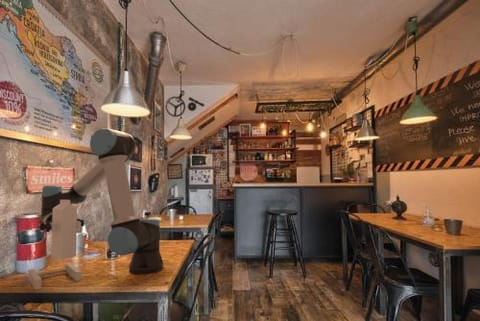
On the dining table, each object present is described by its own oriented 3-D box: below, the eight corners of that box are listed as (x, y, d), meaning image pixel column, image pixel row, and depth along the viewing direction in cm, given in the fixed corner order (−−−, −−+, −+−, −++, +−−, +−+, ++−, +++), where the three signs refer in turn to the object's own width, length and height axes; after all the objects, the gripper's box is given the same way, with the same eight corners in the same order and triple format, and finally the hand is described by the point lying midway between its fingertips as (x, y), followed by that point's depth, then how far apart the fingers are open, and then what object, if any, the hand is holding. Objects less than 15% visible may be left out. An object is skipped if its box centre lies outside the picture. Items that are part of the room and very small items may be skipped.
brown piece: (28, 277, 127) (28, 269, 127) (69, 269, 138) (70, 262, 138) (35, 289, 112) (35, 280, 112) (81, 280, 123) (81, 271, 123)
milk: (61, 260, 109) (62, 200, 111) (50, 258, 112) (52, 200, 113) (76, 256, 115) (77, 199, 116) (66, 254, 117) (67, 199, 119)
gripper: (81, 227, 134) (96, 233, 117) (25, 233, 120) (33, 241, 103) (81, 210, 134) (96, 214, 117) (26, 215, 121) (34, 219, 104)
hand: (67, 226), depth 110 cm, fingers closed on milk, 8 cm apart
